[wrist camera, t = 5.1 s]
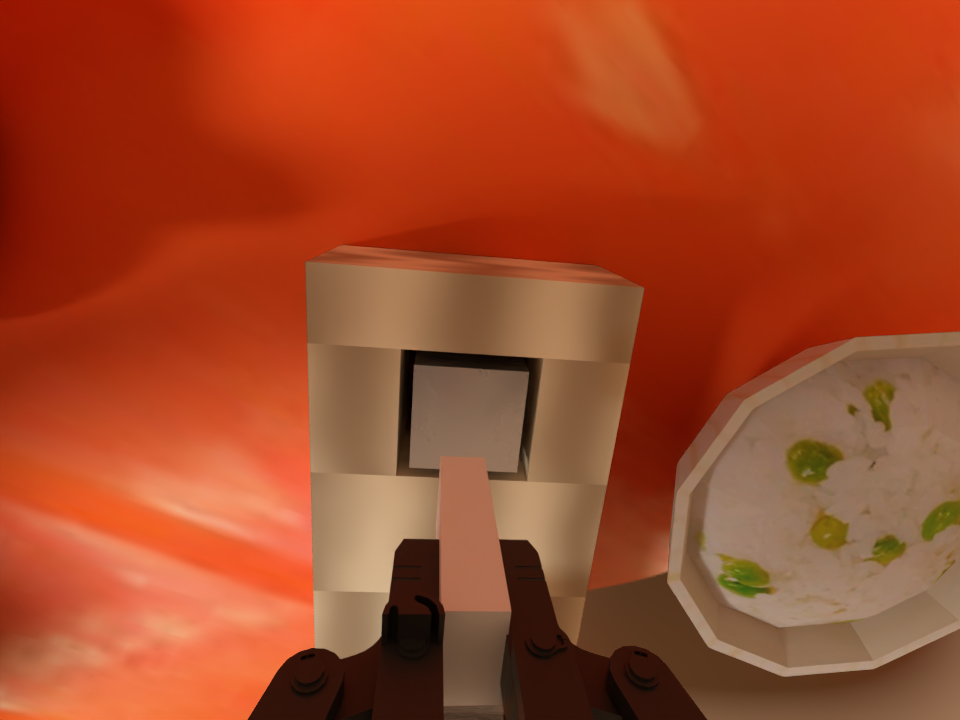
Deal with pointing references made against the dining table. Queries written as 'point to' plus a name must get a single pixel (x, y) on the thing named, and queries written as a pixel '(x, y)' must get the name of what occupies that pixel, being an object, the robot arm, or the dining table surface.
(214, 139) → the dining table surface
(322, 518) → the socket block
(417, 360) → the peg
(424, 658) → the robot arm
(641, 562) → the dining table surface
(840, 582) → the bowl
